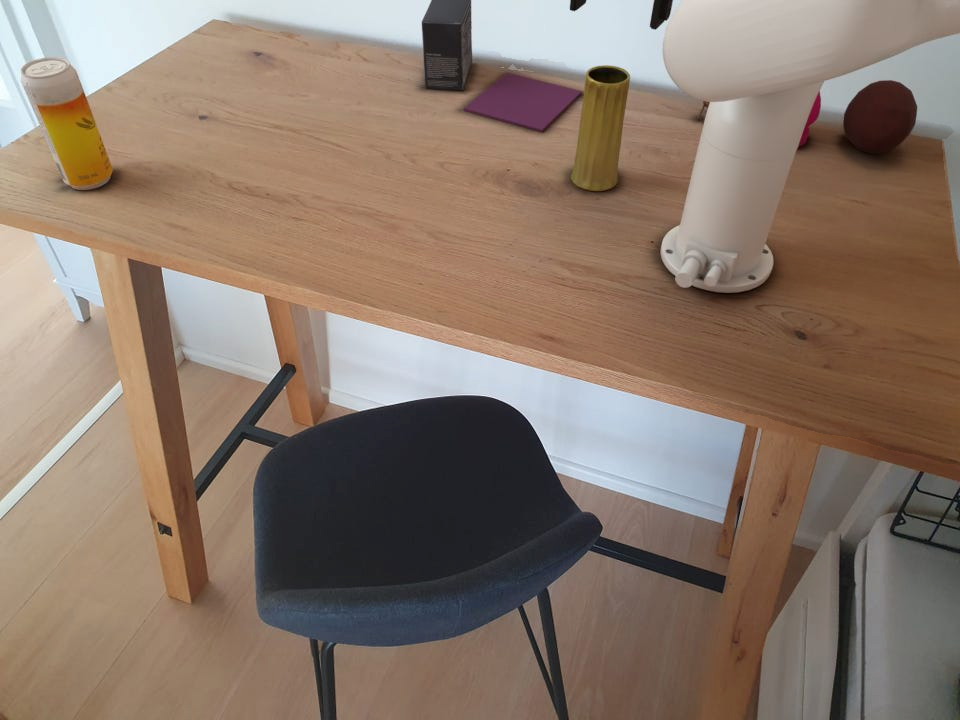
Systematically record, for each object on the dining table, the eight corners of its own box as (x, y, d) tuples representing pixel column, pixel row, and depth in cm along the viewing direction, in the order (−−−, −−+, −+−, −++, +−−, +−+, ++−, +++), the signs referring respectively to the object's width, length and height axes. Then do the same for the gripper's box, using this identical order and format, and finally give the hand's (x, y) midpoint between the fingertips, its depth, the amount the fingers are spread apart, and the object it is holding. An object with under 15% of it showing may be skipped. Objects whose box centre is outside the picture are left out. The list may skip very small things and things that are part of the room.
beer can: (123, 179, 100) (82, 66, 89) (78, 197, 97) (31, 83, 86) (100, 162, 103) (58, 51, 92) (56, 179, 99) (7, 66, 89)
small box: (434, 60, 127) (431, -7, 119) (473, 62, 126) (473, -4, 119) (422, 88, 119) (419, 19, 112) (464, 91, 119) (463, 22, 111)
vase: (621, 172, 102) (638, 67, 92) (612, 196, 98) (628, 89, 88) (577, 164, 104) (588, 60, 94) (565, 187, 99) (576, 81, 89)
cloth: (542, 132, 110) (542, 129, 109) (463, 110, 114) (463, 108, 114) (581, 93, 118) (581, 91, 118) (507, 75, 123) (507, 72, 123)
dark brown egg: (893, 131, 111) (920, 69, 104) (906, 174, 103) (936, 109, 96) (831, 124, 112) (853, 61, 106) (838, 165, 104) (863, 100, 97)
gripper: (544, -169, 75) (533, 11, 87) (716, -144, 69) (678, 44, 81) (576, -182, 80) (561, -10, 92) (740, -160, 74) (701, 21, 86)
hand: (616, 15), depth 86 cm, fingers open, 9 cm apart
